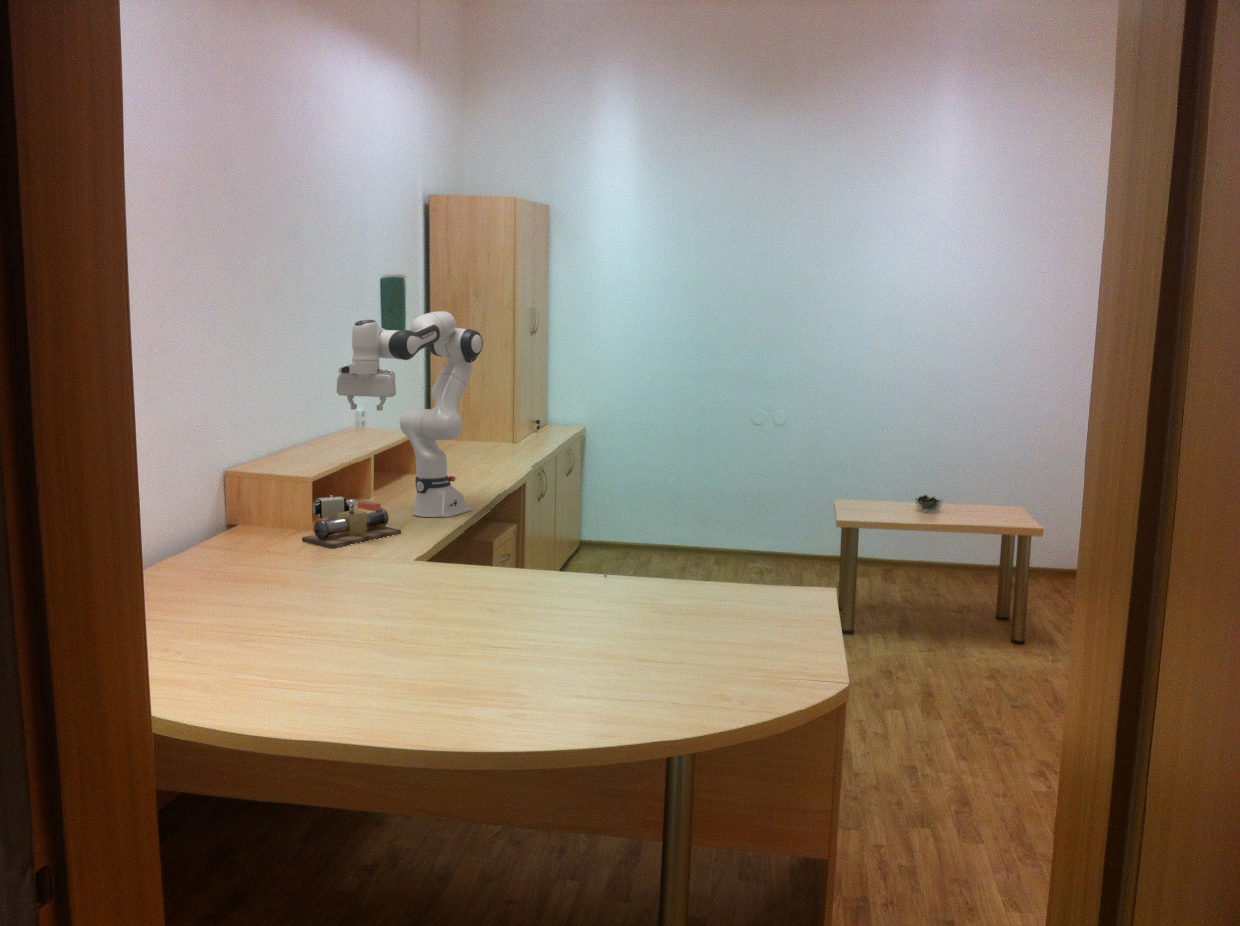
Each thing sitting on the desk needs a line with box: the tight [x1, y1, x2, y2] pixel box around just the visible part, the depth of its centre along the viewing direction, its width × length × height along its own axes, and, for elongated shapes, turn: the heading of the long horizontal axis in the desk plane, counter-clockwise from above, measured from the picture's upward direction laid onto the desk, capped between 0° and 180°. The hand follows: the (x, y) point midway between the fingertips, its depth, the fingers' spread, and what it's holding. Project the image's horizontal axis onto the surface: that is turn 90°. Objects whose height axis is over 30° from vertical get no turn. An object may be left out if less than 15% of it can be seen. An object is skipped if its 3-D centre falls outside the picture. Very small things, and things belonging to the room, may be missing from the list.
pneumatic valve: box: [312, 494, 349, 521], centre depth 355 cm, size 6×12×12 cm, turn 117°
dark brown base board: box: [301, 524, 402, 550], centre depth 343 cm, size 28×16×3 cm, turn 143°
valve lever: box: [346, 498, 382, 512], centre depth 338 cm, size 14×3×2 cm, turn 53°
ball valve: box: [313, 505, 389, 539], centre depth 343 cm, size 26×6×9 cm, turn 143°
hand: (366, 409), depth 348 cm, fingers open, 8 cm apart
